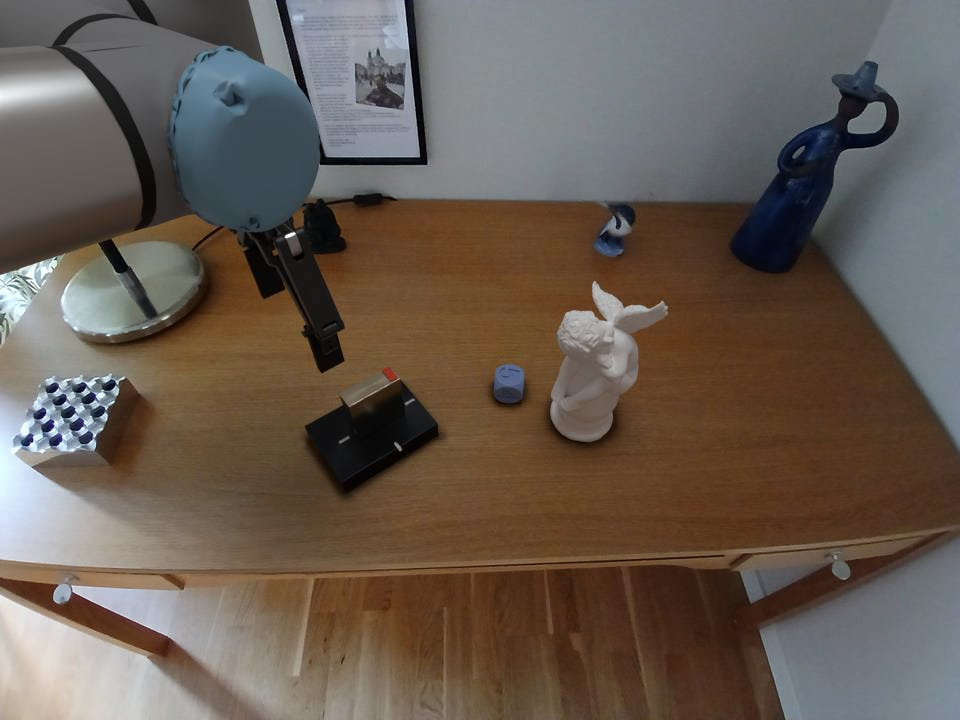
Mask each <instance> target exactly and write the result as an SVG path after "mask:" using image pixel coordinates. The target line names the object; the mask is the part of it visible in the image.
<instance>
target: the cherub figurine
mask: <svg viewBox="0 0 960 720" xmlns="http://www.w3.org/2000/svg"><path fill="white" fill-rule="evenodd" d="M591 293H592V300H593V302H594V304H595V307H596V308H597V309H598V312H599V313H600V314H601V315H602V317H603V319H605V320H601V319H599V318H598V317H596V316H595V313H594V311H592V310H577V309H574V310H570V311H567V312H565V314H564V316H563V319H562V321H561V323H560V325H559V326H558V330H557V332H556V333H555V335H556V343H557V344H558V348H559V349H560V351H561V352H562V354H564V355H565V357H564V359H563V361H562V363H561V366H560V368H559V371H558V375H557V378H556V381H555V382H554V384H553V387H552V389H551V392H550V399H551V400H552V401H551V405H550V409H549V413H550V414H549V415H550V419H551V421H552V424H553V426H554V427H555V429H556V430H557V432H559V434H561V435H562V436H563V437H566V438H567V439H569V440H572V441H577V442H584V443H592V442H594V441H598V440H600V439H602V438H603V436H605V435H606V434H607V433H608V432H609V431H610V429H611V428H612V426H613V425H612V424H613V421H614V413H613V411H614V410H615V409H616V407H617V404H618V402H619V399H620V396H621V395H623V394H625V393H627V391H629V389H631V388H632V387H633V386H634V385H635V383H636V381H637V380H638V375H639V367H640V366H639V348H638V344H637V342H636V341H637V340H635V338H634V337H633V336H632V334H634V333H637V331H639V330H644V329H647V328H649V327H650V326H653V325H655V324H656V323H657V322H660V321H661V320H663V319H664V318H665V317H667V316H668V315H669V311H668V309H669V306H668V305H666V304H665V302H664V300H661V301H660V303H658V304H656V305H655V306H653V307H651V308H648V307H647V306H645V305H642V304H636V305H635V304H630V305H627V306H625V307H624V305H623V303H622V301H620V300H619V299H618V298H617V297H616V296H614V295H613V294H611V293H609V292H605V291H604V290H603V289H601V287H600V285H599V283H597V281H596V280H594V281H593V282H592V287H591Z"/></svg>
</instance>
